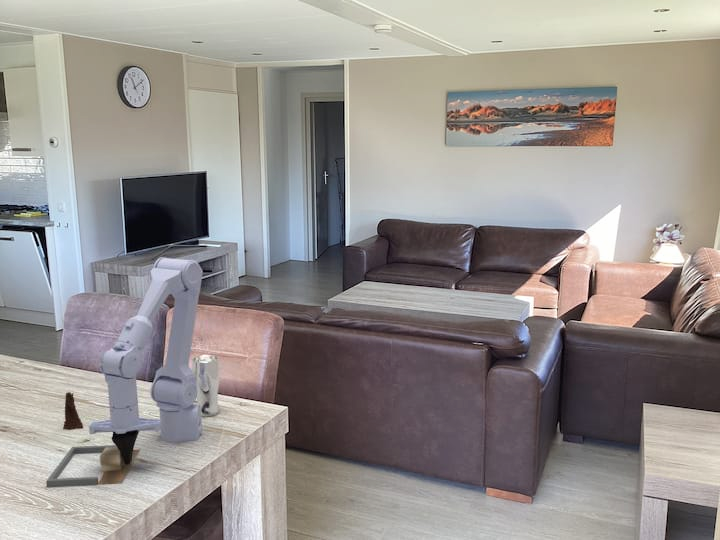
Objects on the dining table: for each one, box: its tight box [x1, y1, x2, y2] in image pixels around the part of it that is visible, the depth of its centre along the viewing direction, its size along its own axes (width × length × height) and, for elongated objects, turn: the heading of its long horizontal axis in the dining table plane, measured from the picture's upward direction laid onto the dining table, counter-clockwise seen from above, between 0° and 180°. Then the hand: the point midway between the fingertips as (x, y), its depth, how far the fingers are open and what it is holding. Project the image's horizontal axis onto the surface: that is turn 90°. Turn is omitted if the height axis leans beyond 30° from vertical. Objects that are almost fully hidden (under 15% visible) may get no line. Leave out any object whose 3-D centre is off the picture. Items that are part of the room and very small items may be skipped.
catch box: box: [45, 444, 117, 488], centre depth 138 cm, size 10×15×3 cm, turn 5°
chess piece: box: [63, 391, 84, 431], centre depth 158 cm, size 5×5×10 cm
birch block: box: [99, 447, 124, 472], centre depth 138 cm, size 4×4×4 cm
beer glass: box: [191, 354, 221, 418], centre depth 168 cm, size 7×7×15 cm
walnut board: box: [96, 448, 141, 486], centre depth 138 cm, size 5×15×1 cm, turn 5°
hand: (128, 462), depth 138 cm, fingers closed
